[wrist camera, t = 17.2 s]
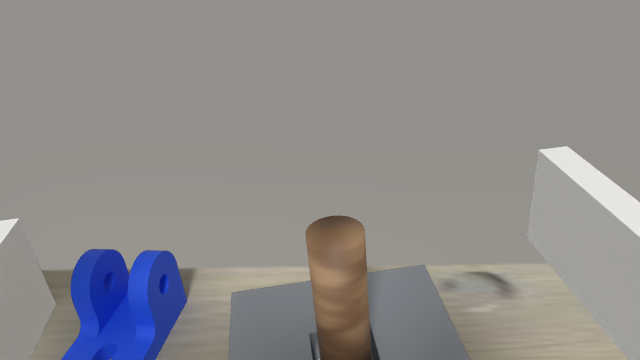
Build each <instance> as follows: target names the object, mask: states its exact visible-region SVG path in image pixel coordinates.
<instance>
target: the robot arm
mask: <svg viewBox="0 0 640 360" xmlns="http://www.w3.org/2000/svg"><path fill="white" fill-rule="evenodd" d="M528 239H529V240H530V241H531V242H532V244H533V245H534V246H535V247H536V248H537V250H538V251H539V252H540V253H541V255H543V257H544V258H545V259H546V261H547V262H548V263H549V264H550V265H551V267H552V268H553V269H554V270H555V272H556V273H557V274H558V275H559V276H560V278H561V279H562V280H563V281H564V282H565V284H566V285H567V286H568V287H569V288H570V290H571V291H572V292H573V293H574V295H575V296H576V297H577V298H578V299H579V301H580V302H581V303H582V304H583V305H584V307H585V308H586V309H587V310H588V311H589V313H590V314H591V315H592V316H593V318H594V319H595V320H596V321H597V322H598V324H599V325H600V326H601V327H602V328H603V330H604V331H605V332H606V333H607V334H608V336H609V337H610V338H611V339H612V341H613V342H614V343H615V344H616V345H617V347H618V348H619V349H620V350H621V351H622V353H623V354H624V355H625V356H626V357H627V359H628V360H640V202H638V201H637V200H636V199H635V198H633V197H632V196H631V195H629V194H628V193H627V192H625V191H624V190H623V189H621V188H620V187H619V186H618V185H616V184H615V183H614V182H612V181H611V180H610V179H609V178H607V177H606V176H605V175H603V174H602V173H601V172H599V171H598V170H597V169H595V168H594V167H593V166H592V165H590V164H589V163H588V162H587V161H585V160H584V159H583V158H581V157H580V156H579V155H577V154H576V153H575V152H573V151H572V150H571V149H570V148H568V147H567V146H566V147H558V148H551V149H543V150H539V151H538V159H537V167H536V175H535V183H534V190H533V198H532V206H531V213H530V221H529V229H528ZM55 306H56V303H55V301H54V299H53V296H52V294H51V292H50V289H49V287H48V285H47V282H46V280H45V278H44V275H43V273H42V271H41V268H40V266H39V264H38V261H37V259H36V257H35V254H34V252H33V250H32V247H31V245H30V243H29V240H28V238H27V236H26V233H25V231H24V229H23V226H22V224H21V222H20V220H19V218H18V219H10V220H3V221H0V360H30V358H31V356H32V353H33V351H34V349H35V347H36V345H37V343H38V341H39V339H40V337H41V335H42V333H43V331H44V329H45V326H46V324H47V322H48V320H49V318H50V316H51V314H52V312H53V310H54V308H55Z"/></svg>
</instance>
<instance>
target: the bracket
mask: <svg viewBox="0 0 640 360" xmlns="http://www.w3.org/2000/svg"><path fill="white" fill-rule="evenodd" d="M71 297H72V301H73V304H74V306H75V309H76V311H77V314H78V316H79V319H80V322H81V329H80V333H79V336H78V338H77V339H76V340H75V342H74V343H73V344H72V346H71V347H70V348H69V350H68V351H67V353H66V354H65V355H64V357H63V358H62V359H61V360H109V359H111V358H113V359H112V360H155V359H156V357H157V355H158V353H159V352H160V350H161V348H162V346H163V344H164V342H165V340H166V339H167V337H168V335H169V333H170V331H171V329H172V328H173V326H174V324H175V322H176V320H177V318H178V317H179V315H180V313H181V311H182V309H183V307H184V306H185V304H186V302H187V299H186V296H185V292H184V288H183V284H182V281H181V277H180V273H179V270H178V266H177V263H176V260H175V258H174V256H173V254H172V253H170V252H169V251H149V250H147V251H143V252H142V253H141V254H139V256H138V257H137V258H136V260H135V261H134V264H133V266H132V268H131V271H130V275H129V273H128V270H127V267H126V264H125V261H124V259H123V257H122V255H121V254H120V253H119V252H118V251H116V250H108V249H91V250H88V251H87V252H85V253H84V254H83V255H82V256H81V257H80V259H79V260H78V262H77V264H76V266H75V268H74V271H73V275H72V279H71Z"/></svg>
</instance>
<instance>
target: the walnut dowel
mask: <svg viewBox="0 0 640 360" xmlns="http://www.w3.org/2000/svg"><path fill="white" fill-rule="evenodd" d="M306 243H307V252H308V259H309V268H310V277H311V285H312V294H313V302H314V311H315V319H316V328H317V336H318V345H319V353H320V360H371V342H370V323H369V304H368V285H367V266H366V247H365V230H364V227H363V225H362V224H361V223H360V222H359V221H357V220H356V219H353V218H351V217H346V216H329V217H325V218H322V219H319V220H317V221H315V222H313V223H312V224H311V225H310V226H309V227H308V228H307V230H306Z"/></svg>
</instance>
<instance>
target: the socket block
mask: <svg viewBox="0 0 640 360" xmlns="http://www.w3.org/2000/svg"><path fill="white" fill-rule="evenodd" d="M367 285H368V304H369V323H370V342H371V360H470V359H469V357H468V355H467V352H466V350H465V348H464V346H463V344H462V342H461V340H460V338H459V336H458V334H457V332H456V330H455V327H454V325H453V323H452V321H451V319H450V317H449V315H448V313H447V311H446V309H445V307H444V305H443V302H442V300H441V298H440V296H439V294H438V292H437V290H436V288H435V286H434V284H433V282H432V280H431V277H430V275H429V273H428V271H427V269H426V267H425V265H418V266H412V267H405V268H398V269H391V270H384V271H377V272H370V273H367ZM229 360H320V353H319V345H318V336H317V328H316V319H315V311H314V302H313V294H312V285H311V281H307V282H300V283H293V284H286V285H279V286H272V287H265V288H259V289H252V290H245V291H238V292H232V297H231V318H230V339H229Z"/></svg>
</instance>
